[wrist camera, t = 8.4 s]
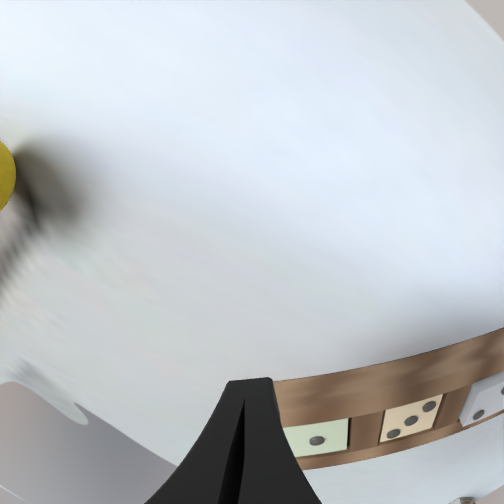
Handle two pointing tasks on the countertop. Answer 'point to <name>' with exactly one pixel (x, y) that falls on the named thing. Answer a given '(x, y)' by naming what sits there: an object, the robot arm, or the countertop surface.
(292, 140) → the countertop surface
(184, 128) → the countertop surface
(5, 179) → the lemon
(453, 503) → the coffee box
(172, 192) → the countertop surface
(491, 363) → the frame
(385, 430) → the button three
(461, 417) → the button two
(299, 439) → the button one
